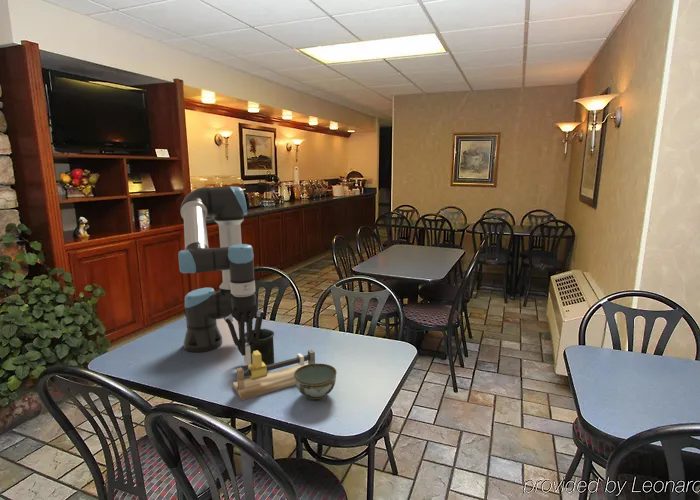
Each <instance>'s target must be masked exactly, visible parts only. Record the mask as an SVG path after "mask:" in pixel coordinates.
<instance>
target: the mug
mask: <svg viewBox="0 0 700 500" xmlns="http://www.w3.org/2000/svg"><path fill="white" fill-rule="evenodd" d="M253 333H254V329H253ZM274 336H275V332H274V331H273V330H271V329H268V328H261V330H260V335H259V340H258V341H257V342H254V345H253V351H256V350H258V351H259V352H260V353H261V358H262V361H263V362H264V363H265V365H270V364H274V363H275V349H274V347H275V346H274ZM245 343H248V341H247V331H246V332H245ZM237 350H238V351H239V354H241V351H240V346H237ZM251 364H253V363H252V354H251ZM246 367H247V368H248V365H246Z"/></svg>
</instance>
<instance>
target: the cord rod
mask: <svg viewBox="0 0 700 500" xmlns="http://www.w3.org/2000/svg"><path fill="white" fill-rule="evenodd" d="M303 356H304V362H306V361H307V362H308V360H310V356H309V355H308V354H305V355H303ZM298 363H300V359H299V358H298V357H297V356H296V357H294V358H290V359H285V360H282V361H278V362H274V364H270V365H266V366H267V372H269V371H270V372H271V371H273V370H277V369H281V368H284V367H288V366H289V367H290V366H292V365H295V364H296V365H297V364H298ZM249 376H251V370H248V369H247V370H244V378H246V377H249Z"/></svg>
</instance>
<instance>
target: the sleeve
mask: <svg viewBox="0 0 700 500" xmlns="http://www.w3.org/2000/svg"><path fill="white" fill-rule="evenodd" d="M252 363H253V364H251V365H248V367H247V370H251V376H248V378H251V379H252V380H256V379H259V378H263V377H267V373H268V371H267V366H266V365H265V363H264V362H263V361H262V358H261V353H260V352H259V351H258V350H256V351H253V353H252Z"/></svg>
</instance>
